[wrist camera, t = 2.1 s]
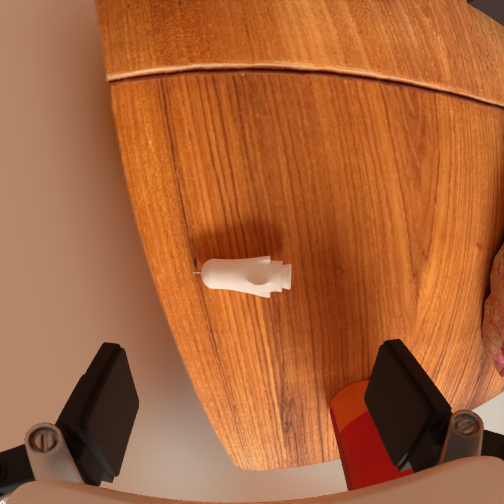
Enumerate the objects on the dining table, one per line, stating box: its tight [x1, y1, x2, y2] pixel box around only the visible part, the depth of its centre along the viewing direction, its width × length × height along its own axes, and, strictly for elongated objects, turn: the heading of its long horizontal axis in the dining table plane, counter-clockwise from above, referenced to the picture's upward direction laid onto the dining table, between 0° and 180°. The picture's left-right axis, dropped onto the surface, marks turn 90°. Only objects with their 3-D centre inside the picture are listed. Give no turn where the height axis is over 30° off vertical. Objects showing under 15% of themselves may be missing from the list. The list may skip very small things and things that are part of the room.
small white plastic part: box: [191, 256, 291, 298], centre depth 18 cm, size 4×6×3 cm, turn 66°
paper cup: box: [330, 380, 414, 491], centre depth 18 cm, size 8×8×14 cm
